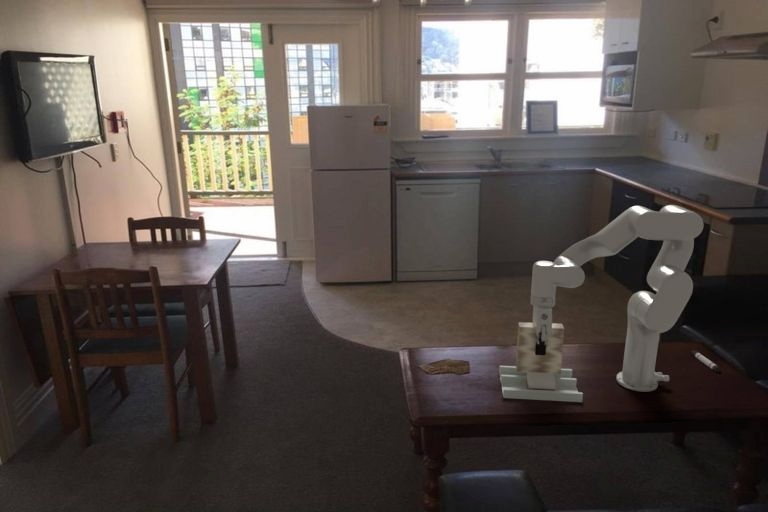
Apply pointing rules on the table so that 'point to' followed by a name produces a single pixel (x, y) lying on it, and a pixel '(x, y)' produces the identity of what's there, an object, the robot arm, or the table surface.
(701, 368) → the table surface
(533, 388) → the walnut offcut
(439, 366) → the brown ridged slab
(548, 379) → the grey offcut
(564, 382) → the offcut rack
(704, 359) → the marker
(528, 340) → the birch sheet
